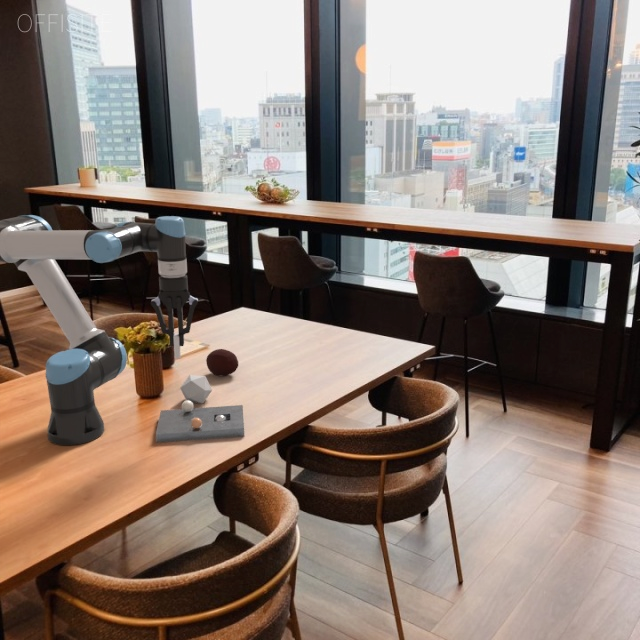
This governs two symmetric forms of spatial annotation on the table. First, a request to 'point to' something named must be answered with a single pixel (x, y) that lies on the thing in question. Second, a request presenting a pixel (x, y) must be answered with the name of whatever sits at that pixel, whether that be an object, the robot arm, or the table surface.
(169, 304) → the robot arm
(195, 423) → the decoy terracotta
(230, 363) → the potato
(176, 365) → the table surface
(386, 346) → the table surface
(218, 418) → the steel ball
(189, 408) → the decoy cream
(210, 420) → the grey board with recess
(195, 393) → the die
